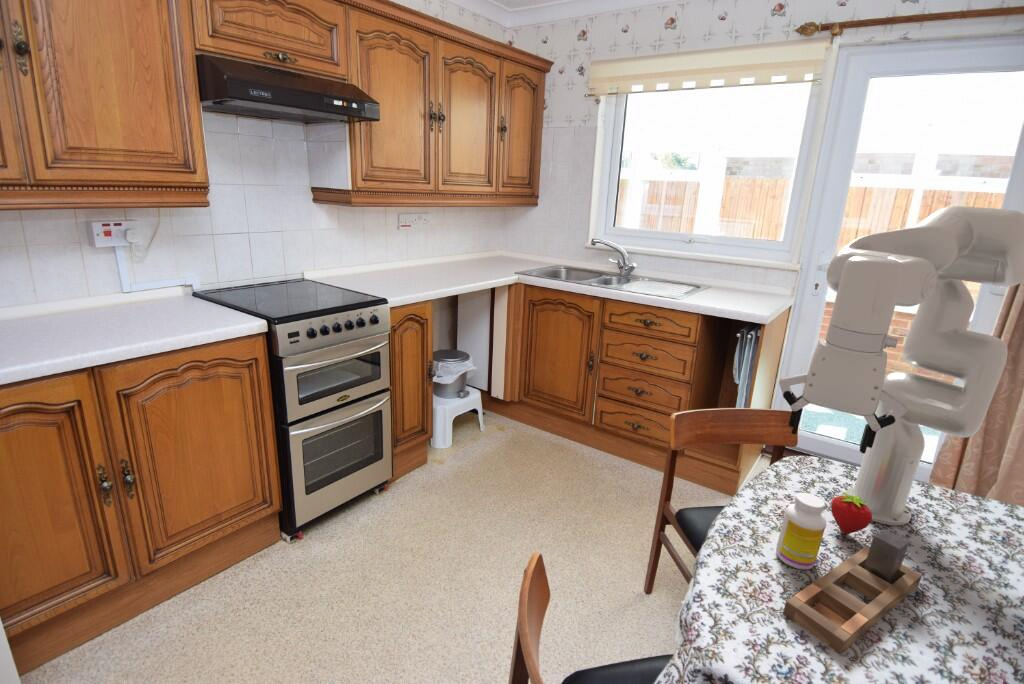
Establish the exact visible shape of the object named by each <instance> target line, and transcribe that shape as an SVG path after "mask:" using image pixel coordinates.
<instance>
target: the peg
mask: <svg viewBox="0 0 1024 684" xmlns="http://www.w3.org/2000/svg"><path fill="white" fill-rule="evenodd" d="M909 544H910V541H909V540H907V539H905V538H903V537H901V536H899V535H897V534H895V533H893V532H891V531H890V530H887V529H885V528H883V529H882V530H881V531H879V532H877V533H876V534H874V535H873V537H872V541H871V544H870V546H869V547H870V550H869V553H868V556H867V559H866V562H865V565H864V569H865V570H867V571H869V572H871V573H872V574H874V575H876V576H877V577H879V578H881V579H883V580H884V581H886V582H888V583H890V584H891V585H892V584H894V583H895V582H896V579H897V576H898V573H899V571H900V568H901V565H902V564H903V561H904V558H905V556H906V553H907V550H908V547H909Z"/></svg>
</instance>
